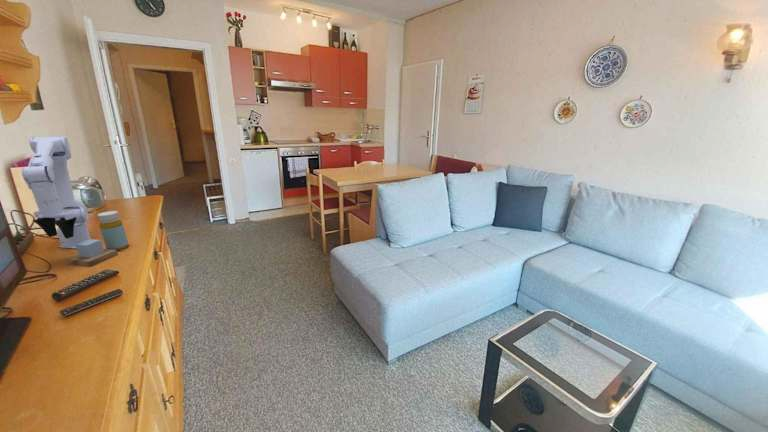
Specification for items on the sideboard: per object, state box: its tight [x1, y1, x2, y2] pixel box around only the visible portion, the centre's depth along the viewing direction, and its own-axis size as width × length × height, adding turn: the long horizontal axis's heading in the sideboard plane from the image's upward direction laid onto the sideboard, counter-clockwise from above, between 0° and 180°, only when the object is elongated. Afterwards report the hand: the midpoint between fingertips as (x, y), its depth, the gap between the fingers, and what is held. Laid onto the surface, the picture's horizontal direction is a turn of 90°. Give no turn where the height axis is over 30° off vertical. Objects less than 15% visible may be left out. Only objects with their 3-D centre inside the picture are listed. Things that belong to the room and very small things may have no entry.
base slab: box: [66, 248, 119, 268], centre depth 117 cm, size 10×10×2 cm
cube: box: [75, 238, 105, 258], centre depth 116 cm, size 5×5×5 cm
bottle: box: [96, 210, 130, 252], centre depth 125 cm, size 7×7×15 cm
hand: (61, 236), depth 113 cm, fingers open, 7 cm apart
